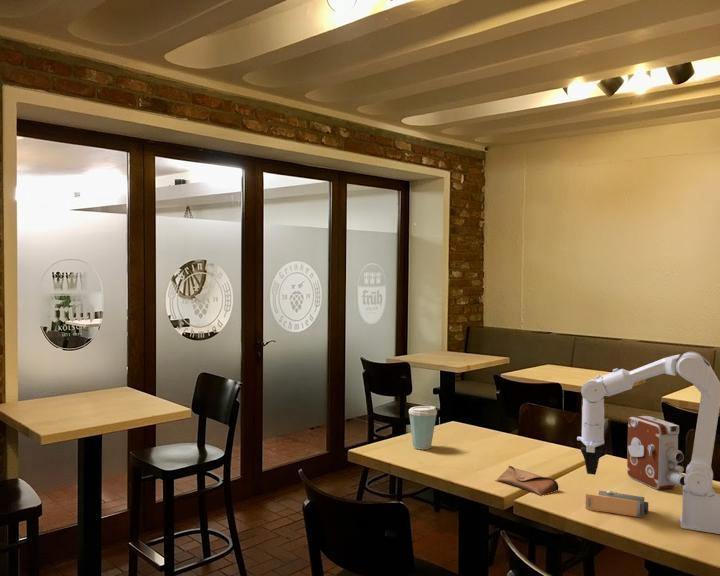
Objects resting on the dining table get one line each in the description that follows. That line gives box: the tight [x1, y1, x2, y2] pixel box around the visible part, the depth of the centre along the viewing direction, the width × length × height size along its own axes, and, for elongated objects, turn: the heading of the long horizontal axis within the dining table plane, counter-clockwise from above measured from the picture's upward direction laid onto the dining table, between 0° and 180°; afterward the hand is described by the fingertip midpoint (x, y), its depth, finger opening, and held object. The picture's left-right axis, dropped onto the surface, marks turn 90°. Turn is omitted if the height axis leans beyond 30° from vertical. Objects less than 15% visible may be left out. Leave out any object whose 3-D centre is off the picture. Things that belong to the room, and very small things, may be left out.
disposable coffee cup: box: [408, 405, 438, 450], centre depth 229 cm, size 11×11×15 cm
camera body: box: [597, 490, 649, 518], centre depth 169 cm, size 12×6×4 cm, turn 65°
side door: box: [585, 492, 641, 518], centre depth 166 cm, size 14×1×4 cm, turn 65°
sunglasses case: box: [494, 465, 560, 497], centre depth 188 cm, size 18×7×7 cm
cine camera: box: [626, 415, 686, 490], centre depth 189 cm, size 9×19×20 cm, turn 15°
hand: (591, 472), depth 172 cm, fingers open, 3 cm apart
